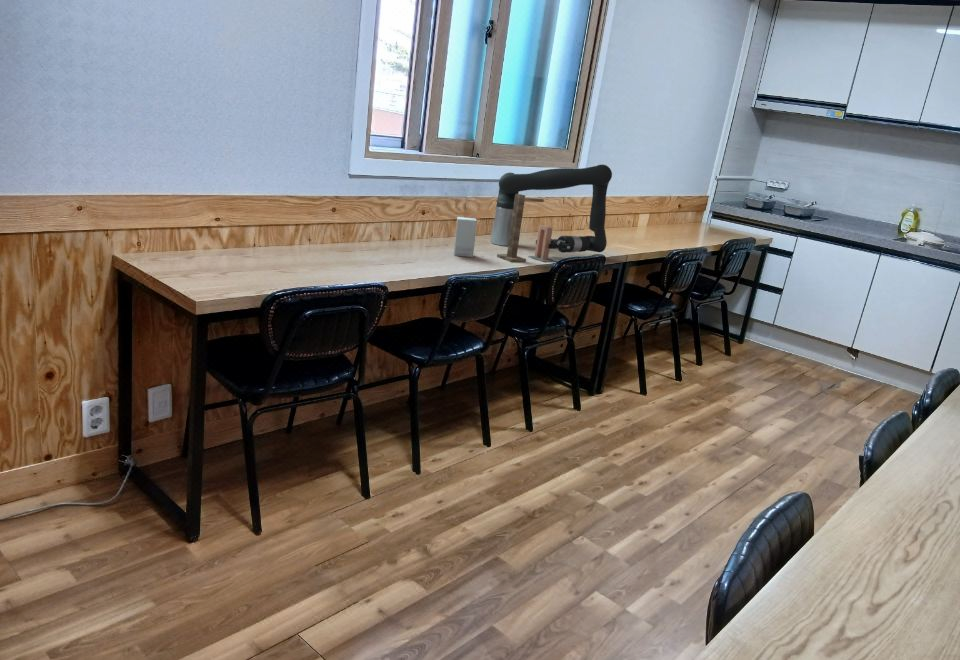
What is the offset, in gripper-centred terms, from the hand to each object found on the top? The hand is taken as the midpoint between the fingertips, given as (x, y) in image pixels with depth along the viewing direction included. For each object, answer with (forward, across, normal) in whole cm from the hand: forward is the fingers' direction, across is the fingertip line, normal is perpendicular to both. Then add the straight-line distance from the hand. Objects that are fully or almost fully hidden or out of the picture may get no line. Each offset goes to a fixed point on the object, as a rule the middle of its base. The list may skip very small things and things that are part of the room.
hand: (542, 244), depth 325 cm
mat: (0, +1, +7) cm, 7 cm away
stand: (+12, 0, +7) cm, 14 cm away
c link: (0, 0, +6) cm, 6 cm away
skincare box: (+36, -9, +7) cm, 37 cm away
